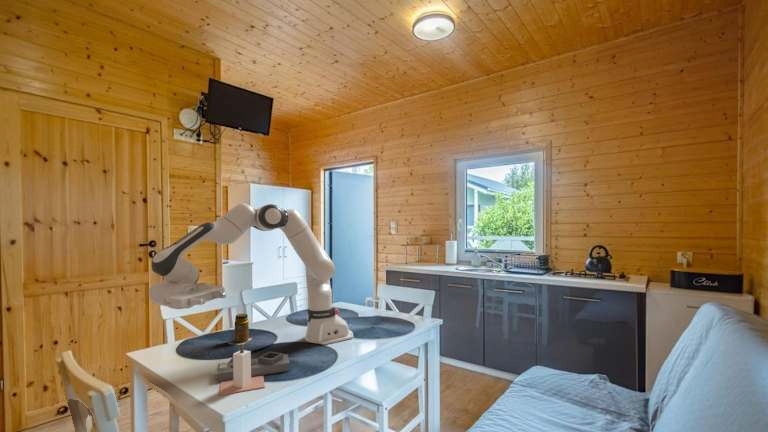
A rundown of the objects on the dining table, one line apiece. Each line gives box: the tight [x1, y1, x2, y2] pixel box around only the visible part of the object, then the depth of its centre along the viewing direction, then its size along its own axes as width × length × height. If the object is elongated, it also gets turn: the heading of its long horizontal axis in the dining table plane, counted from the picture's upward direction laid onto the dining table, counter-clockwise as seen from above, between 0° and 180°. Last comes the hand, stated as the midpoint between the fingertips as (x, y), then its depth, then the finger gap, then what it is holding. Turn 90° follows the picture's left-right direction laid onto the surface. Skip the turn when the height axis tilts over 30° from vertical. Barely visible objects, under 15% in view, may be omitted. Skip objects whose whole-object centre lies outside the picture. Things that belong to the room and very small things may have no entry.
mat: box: [218, 375, 266, 397], centre depth 125 cm, size 14×9×1 cm, turn 111°
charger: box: [232, 344, 252, 388], centre depth 125 cm, size 4×4×14 cm
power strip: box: [215, 350, 291, 383], centre depth 136 cm, size 25×9×5 cm, turn 111°
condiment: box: [227, 313, 253, 346], centre depth 168 cm, size 7×8×12 cm
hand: (214, 298), depth 129 cm, fingers open, 8 cm apart
